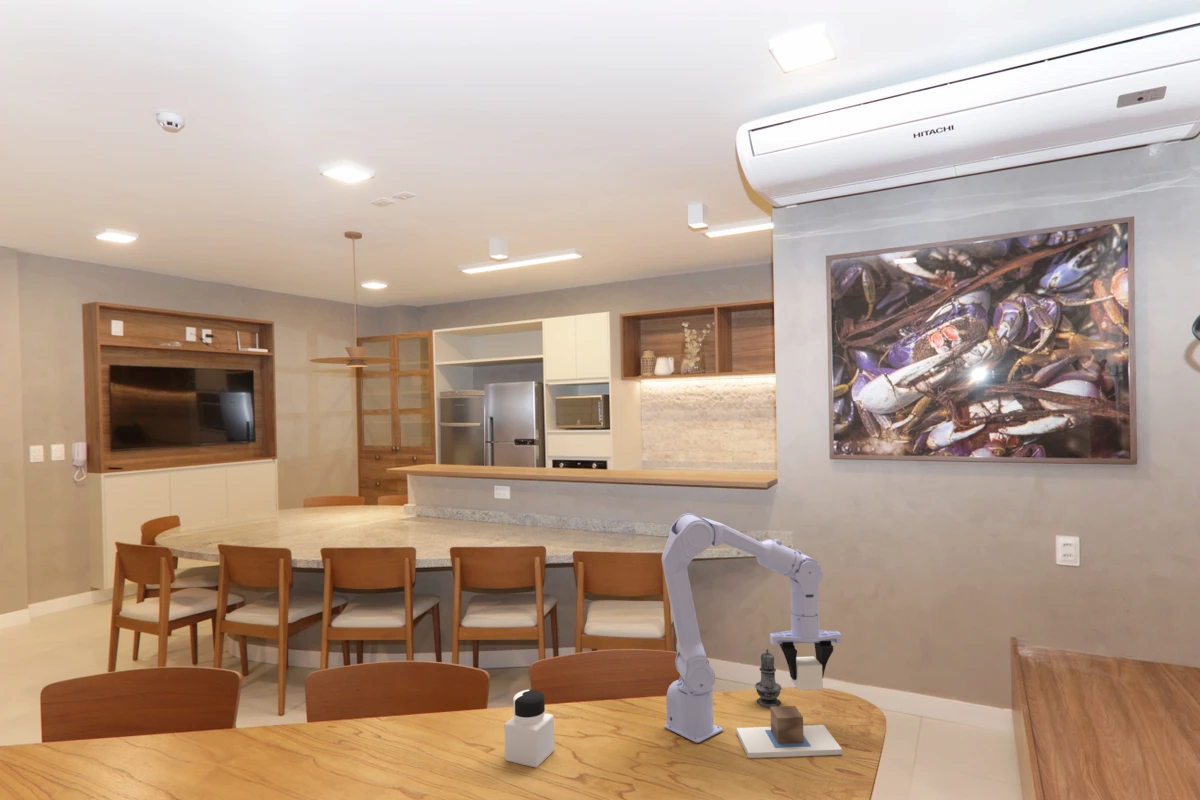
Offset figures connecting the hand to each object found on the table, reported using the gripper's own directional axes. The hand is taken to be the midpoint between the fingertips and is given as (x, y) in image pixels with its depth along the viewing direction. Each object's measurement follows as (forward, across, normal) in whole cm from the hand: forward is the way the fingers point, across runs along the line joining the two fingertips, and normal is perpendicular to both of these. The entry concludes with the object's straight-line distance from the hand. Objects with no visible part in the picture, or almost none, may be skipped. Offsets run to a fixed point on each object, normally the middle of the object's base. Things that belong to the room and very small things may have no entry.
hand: (806, 677), depth 142 cm
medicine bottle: (+10, +58, +9) cm, 59 cm away
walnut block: (+8, +7, +8) cm, 14 cm away
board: (+9, +7, +8) cm, 14 cm away
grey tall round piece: (+10, +6, -10) cm, 15 cm away
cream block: (+2, 0, 0) cm, 2 cm away
